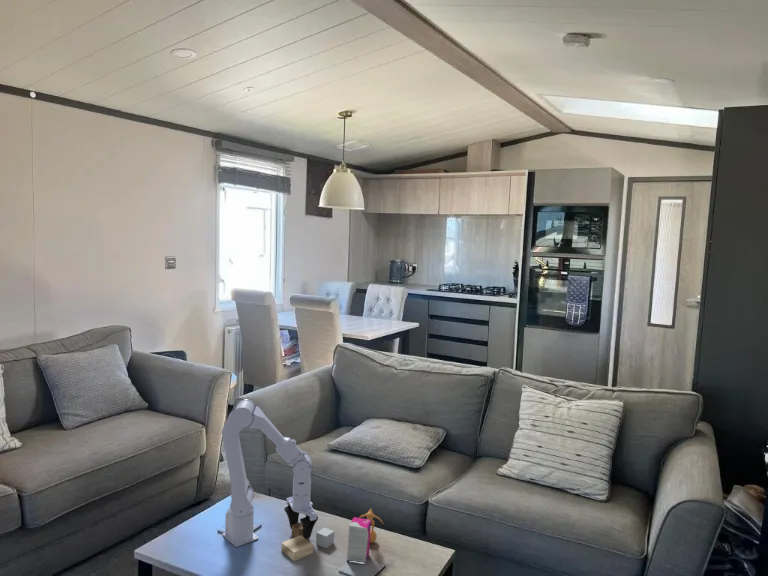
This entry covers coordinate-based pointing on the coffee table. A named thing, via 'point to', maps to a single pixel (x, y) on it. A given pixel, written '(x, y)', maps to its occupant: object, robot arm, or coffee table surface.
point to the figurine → (370, 517)
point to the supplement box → (359, 540)
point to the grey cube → (325, 537)
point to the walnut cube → (297, 530)
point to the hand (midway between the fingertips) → (300, 532)
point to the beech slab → (297, 547)
